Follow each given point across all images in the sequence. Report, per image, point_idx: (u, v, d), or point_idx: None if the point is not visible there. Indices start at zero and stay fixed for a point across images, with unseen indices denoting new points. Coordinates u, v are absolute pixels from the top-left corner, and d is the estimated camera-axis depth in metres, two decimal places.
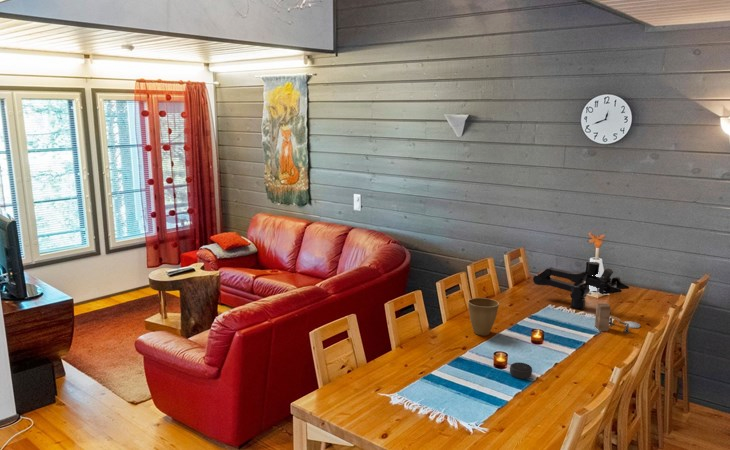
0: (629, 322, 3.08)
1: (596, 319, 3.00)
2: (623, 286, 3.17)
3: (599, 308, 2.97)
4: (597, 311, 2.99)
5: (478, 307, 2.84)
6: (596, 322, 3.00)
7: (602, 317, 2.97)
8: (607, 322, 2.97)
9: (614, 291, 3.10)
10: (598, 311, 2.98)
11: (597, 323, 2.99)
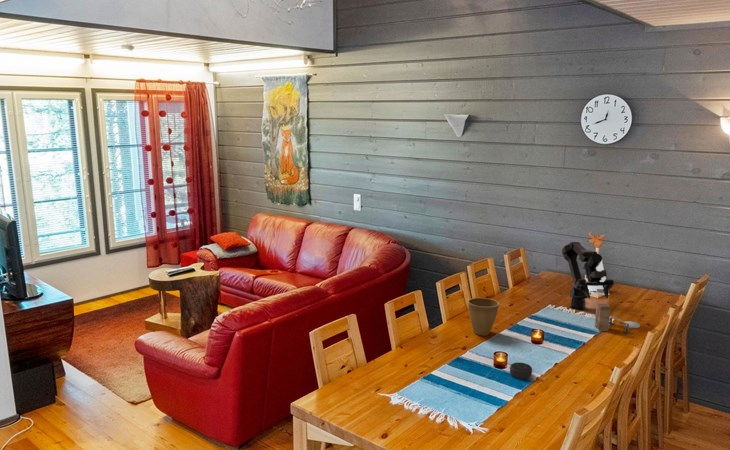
0: (629, 322, 3.08)
1: (596, 319, 3.00)
2: (605, 293, 3.07)
3: (599, 308, 2.97)
4: (597, 311, 2.99)
5: (478, 307, 2.84)
6: (596, 322, 3.00)
7: (602, 317, 2.96)
8: (607, 322, 2.97)
9: (585, 293, 3.08)
10: (598, 311, 2.98)
11: (597, 323, 2.99)
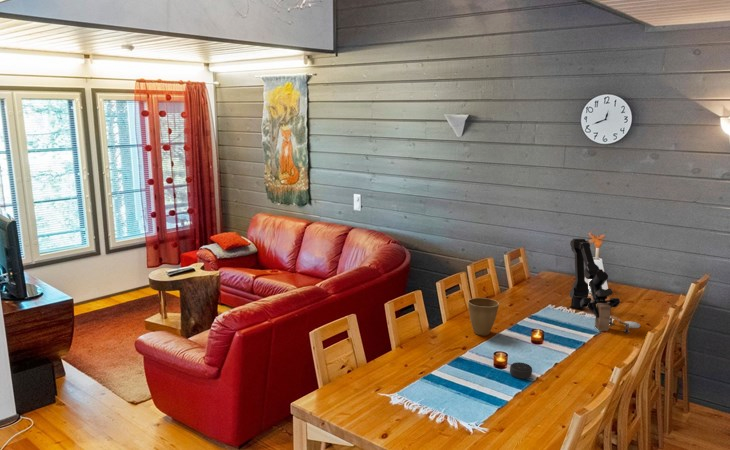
0: (629, 322, 3.08)
1: (596, 319, 3.00)
2: None
3: (599, 308, 2.97)
4: None
5: (478, 307, 2.84)
6: (596, 322, 3.00)
7: (602, 317, 2.96)
8: (607, 322, 2.97)
9: (594, 312, 3.00)
10: (598, 311, 2.98)
11: (597, 323, 2.99)
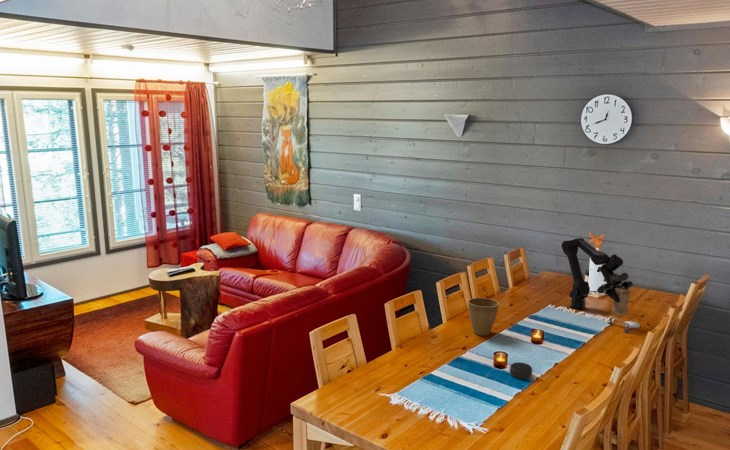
0: (629, 322, 3.08)
1: (615, 304, 3.03)
2: None
3: (620, 293, 2.99)
4: None
5: (478, 307, 2.84)
6: (615, 307, 3.03)
7: (622, 302, 2.99)
8: (626, 306, 3.01)
9: (613, 298, 3.02)
10: (618, 296, 3.00)
11: (616, 308, 3.01)
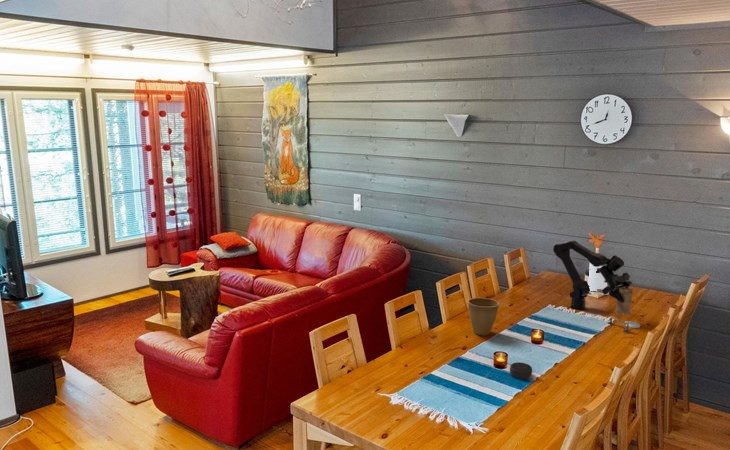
0: (629, 322, 3.08)
1: (618, 304, 3.08)
2: None
3: (624, 293, 3.05)
4: None
5: (478, 307, 2.84)
6: (619, 307, 3.08)
7: (627, 301, 3.06)
8: (629, 305, 3.07)
9: (617, 298, 3.07)
10: (622, 296, 3.06)
11: (621, 308, 3.07)
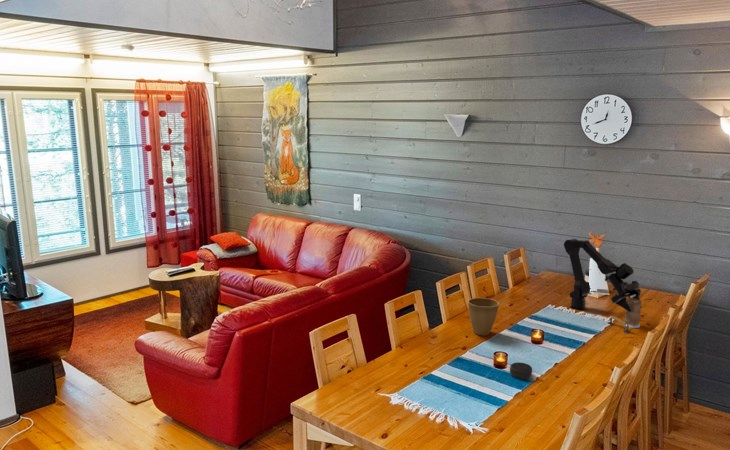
0: None
1: (627, 315, 3.05)
2: None
3: (633, 304, 3.01)
4: None
5: (478, 307, 2.84)
6: (628, 318, 3.05)
7: (636, 312, 3.02)
8: (638, 316, 3.04)
9: (624, 307, 3.02)
10: (631, 307, 3.02)
11: (630, 319, 3.03)
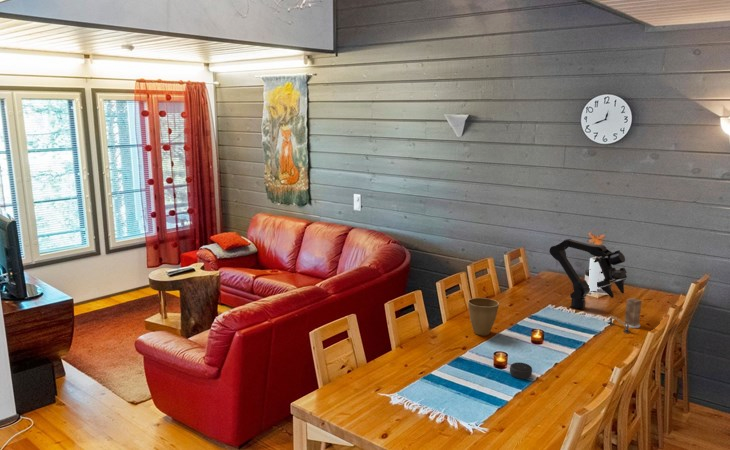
0: None
1: (627, 315, 3.05)
2: (620, 287, 3.18)
3: (633, 304, 3.01)
4: (629, 307, 3.03)
5: (478, 307, 2.84)
6: (628, 318, 3.05)
7: (636, 312, 3.02)
8: (638, 316, 3.04)
9: (607, 292, 3.14)
10: (631, 307, 3.02)
11: (630, 319, 3.03)
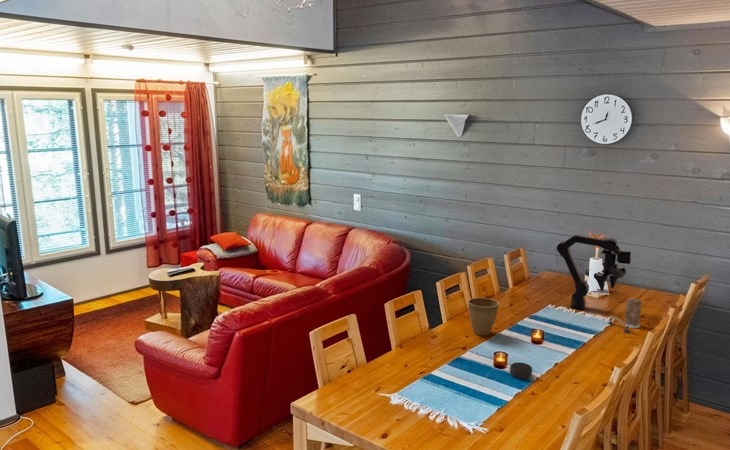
0: None
1: (627, 315, 3.05)
2: (612, 282, 3.26)
3: (633, 304, 3.01)
4: (629, 307, 3.03)
5: (478, 307, 2.84)
6: (628, 318, 3.05)
7: (636, 312, 3.02)
8: (638, 316, 3.04)
9: (599, 285, 3.21)
10: (631, 307, 3.02)
11: (630, 319, 3.03)
